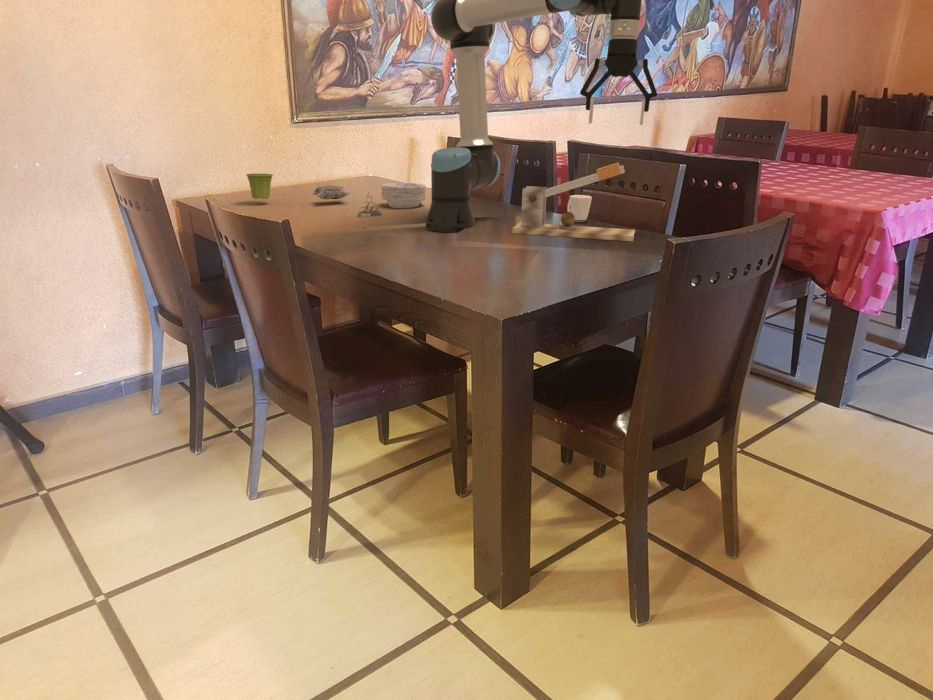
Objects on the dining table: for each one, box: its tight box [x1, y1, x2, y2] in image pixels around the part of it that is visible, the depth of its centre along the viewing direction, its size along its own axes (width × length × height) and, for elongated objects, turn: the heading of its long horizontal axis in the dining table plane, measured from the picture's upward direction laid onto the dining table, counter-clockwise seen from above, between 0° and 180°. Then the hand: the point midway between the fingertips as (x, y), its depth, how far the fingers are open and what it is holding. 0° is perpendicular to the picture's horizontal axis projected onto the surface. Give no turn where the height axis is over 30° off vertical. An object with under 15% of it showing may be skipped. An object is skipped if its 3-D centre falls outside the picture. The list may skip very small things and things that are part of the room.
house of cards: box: [357, 191, 383, 218], centre depth 226 cm, size 9×9×8 cm
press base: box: [512, 185, 636, 242], centre depth 198 cm, size 34×10×12 cm, turn 74°
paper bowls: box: [381, 182, 427, 209], centre depth 240 cm, size 15×15×8 cm
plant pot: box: [245, 173, 274, 200], centre depth 254 cm, size 9×9×9 cm
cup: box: [566, 194, 593, 221], centre depth 218 cm, size 7×10×8 cm
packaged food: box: [312, 185, 350, 201], centre depth 253 cm, size 9×12×5 cm
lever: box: [544, 162, 626, 198], centre depth 195 cm, size 28×4×4 cm, turn 74°
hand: (615, 124), depth 188 cm, fingers open, 13 cm apart
